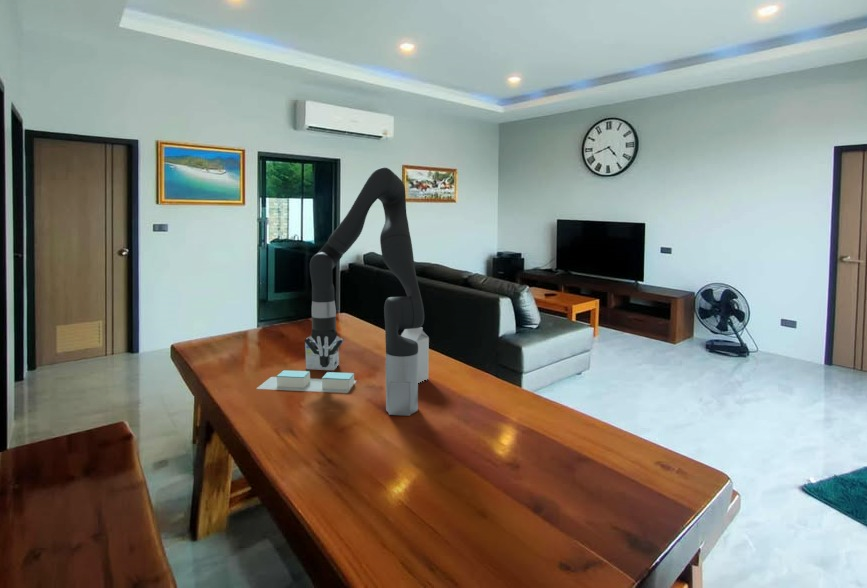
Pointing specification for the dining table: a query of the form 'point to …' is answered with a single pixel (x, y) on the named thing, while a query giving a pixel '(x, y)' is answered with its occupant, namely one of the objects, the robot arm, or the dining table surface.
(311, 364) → the light bulb box
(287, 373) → the tile
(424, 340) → the milk carton
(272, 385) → the runner
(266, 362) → the dining table surface
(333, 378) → the block
